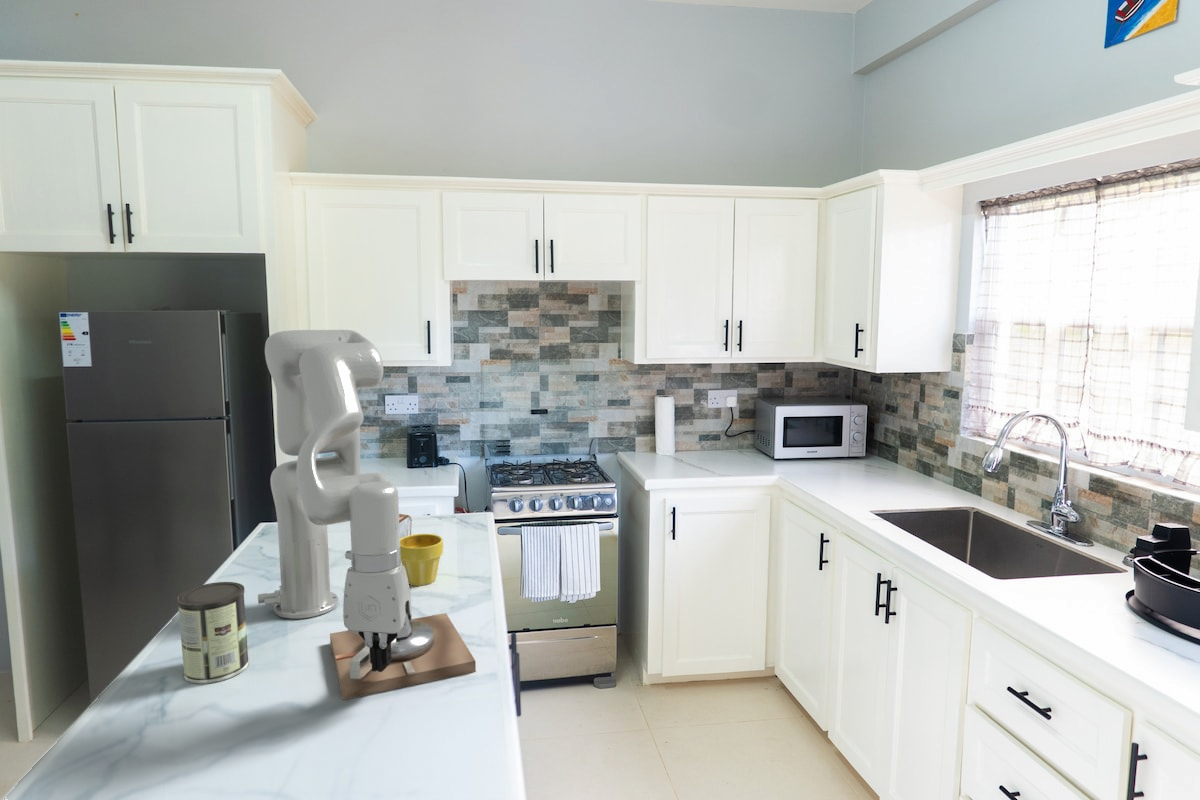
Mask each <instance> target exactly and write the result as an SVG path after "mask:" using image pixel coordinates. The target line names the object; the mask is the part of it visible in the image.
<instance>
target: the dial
mask: <svg viewBox="0 0 1200 800" xmlns="http://www.w3.org/2000/svg"><path fill="white" fill-rule="evenodd" d="M410 626H411V630H412V632H411V633H410V634H409V635H408V636H406V637H401V638H395V639H394V640H393V641H392V642H391V657H392V660H391V662H392V661H403V660H408V659H412V658H415V657H418V656H420V655H422V654H424V653H426V652H427V651H429V650H430V649H431V648H432V646H433V644H434V635H433V629H432V627H431V626H429V625H427V624H425V623H422V622H417V621H410ZM371 669H372V663H370V648H369V647H367V646H366V642H365V647H364V648H363V649H362V650H361V651H360V652H359V653H358V654H356V655H355V656H354V657H353V658H352V659H351V660H350V678H354V679H361V678H362V677H363V676H364V675H366V674H367V673H368V672H369V671H370V670H371Z"/></svg>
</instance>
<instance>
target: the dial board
mask: <svg viewBox="0 0 1200 800" xmlns="http://www.w3.org/2000/svg"><path fill="white" fill-rule="evenodd" d="M411 621H417V622H422V623H425V624H427V625H429V626H431V627H432V629H433V635H434V644H433V646H432V648H431V649H430V650H429V651H427V652H426V653H424V654H422V655H420V656H418V657H415V658H412V659H408V660H403V661H392V662H391V663H390V664H389V665H388V666H387V667H386V668H385V669H384V670H383V671H382V672H378V671H372V669H371V670H370V671H369V672H368V673H367V674H366V675H364V676H363V677H362V678H361V679H354V678H350V660H351V659H352V658H353V657H354V656H355V655H356V654H358V653H359V652H360V651H361V650H362V649H363V648H364V647H365V640H364V639H363V638H362V637H361V636H360V635H359V634H355V633H352V632H350V631H348V629H347V630H342V631H338V632H337V631H336V632H331V633H330V634H329V639H330V648H331V652H332V656H333V661H334V666H335V670H336V675H337V680H338V681H337V682H338V685H339V688H340V694H341V698H342V699H341V700H342V701H345V700H350V699H355V698H359V697H363V696H364V697H365V696H369V695H373V694H378V693H381V692H386V691H391V690H396V689H401V688H406V687H411V686H415V685H420V684H424V683H430V682H433V681H439V680H443V679H446V678H447V679H448V678H452V677H457V676H460V675H461V676H463V675H466V674H470V673H476V672H477V671H476V670H477V667H476V664H477V663H476V659H475V658H474V656H473V655H472V653H471V652H470V650H469V648H468V646H467V645H466V643H465V642H464V640H463V638H462V636H461V635H460V633H459V632H458V630H457V629H456V627H455V626H454V624H453V622H452V621H451V619H450V618H449V616H448V614H447V613H446V612H444V613H439V614H434V615H427V616H422V617H417V618H416V617H415V618H411Z"/></svg>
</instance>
